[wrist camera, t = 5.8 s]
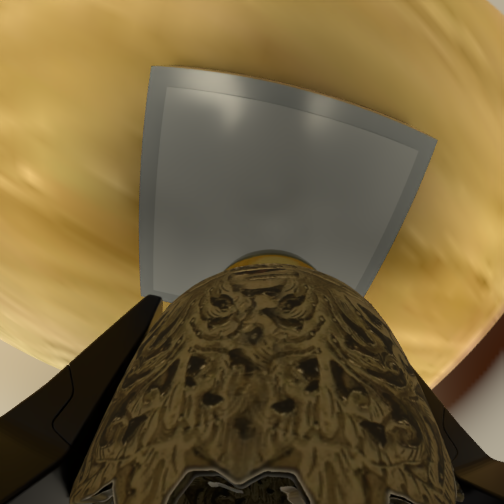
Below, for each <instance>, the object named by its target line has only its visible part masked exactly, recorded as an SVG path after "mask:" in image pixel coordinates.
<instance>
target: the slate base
mask: <svg viewBox="0 0 504 504" xmlns="http://www.w3.org/2000/svg"><path fill="white" fill-rule="evenodd" d="M437 141H438V140H437V139H435V138H433V137H431V136H429V135H428V134H426V133H424V132H422V131H420V130H418V129H417V128H415V127H413V126H411V125H409V124H406V123H404V122H402V121H399V120H397V119H395V118H392V117H390V116H387V115H385V114H382V113H380V112H377V111H374V110H372V109H369V108H366V107H363V106H361V105H358V104H355V103H352V102H349V101H346V100H343V99H340V98H337V97H334V96H330V95H327V94H324V93H320V92H317V91H313V90H310V89H306V88H302V87H299V86H295V85H291V84H287V83H283V82H278V81H274V80H269V79H265V78H260V77H255V76H250V75H244V74H239V73H233V72H227V71H220V70H213V69H205V68H197V67H188V66H178V65H161V66H151V73H150V79H149V86H148V94H147V102H146V110H145V120H144V130H143V141H142V155H141V171H140V195H139V263H140V287H141V296H143V297H146V296H147V295H149V294H152V295H156V296H160V297H162V300H163V301H165V302H170V303H172V302H173V301H174V300H175V299H177V298H178V297H179V296H180V295H182V294H183V293H184V292H185V291H187V290H188V289H189V288H191V287H192V286H194V285H195V284H197V283H199V282H200V281H202V280H204V279H206V278H208V277H211V276H213V275H216V274H218V273H220V272H223V271H224V270H225V269H226V268H227V267H228V266H229V265H230V264H231V263H232V262H233V261H235V260H236V259H238V258H239V257H241V256H243V255H245V254H248V253H251V252H254V251H258V250H266V249H275V250H283V251H287V252H291V253H293V254H296V255H298V256H300V257H302V258H303V259H305V260H306V261H308V262H309V263H310V264H311V265H312V266H313V267H314V268H315V269H316V270H317V271H319V272H322V273H325V274H327V275H330V276H332V277H334V278H336V279H338V280H340V281H342V282H344V283H345V284H347V285H348V286H350V287H351V288H353V289H354V290H355V291H356V292H358V293H359V294H360V295H361V296H363V297H364V296H365V294H366V292H367V291H368V289H369V287H370V285H371V283H372V282H373V280H374V278H375V276H376V274H377V273H378V271H379V269H380V267H381V265H382V263H383V261H384V260H385V258H386V256H387V254H388V252H389V250H390V248H391V246H392V244H393V242H394V240H395V238H396V236H397V234H398V232H399V230H400V228H401V226H402V224H403V222H404V219H405V217H406V215H407V213H408V211H409V209H410V207H411V204H412V202H413V200H414V198H415V195H416V193H417V191H418V188H419V186H420V184H421V181H422V179H423V177H424V174H425V172H426V169H427V167H428V164H429V162H430V159H431V157H432V154H433V151H434V149H435V146H436V143H437Z"/></svg>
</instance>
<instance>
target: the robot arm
mask: <svg viewBox="0 0 504 504" xmlns="http://www.w3.org/2000/svg"><path fill="white" fill-rule="evenodd" d="M162 313H163V300H162V297H160V296H156V295H152V294H149V295H147V296H146V297H145V298H143V299H142V300H141V301H140V302H139V303H138V304H136V305H135V306H134V307H133V308H132V309H131V310H129V311H128V312H127V313H126V314H125V315H124V316H122V317H121V318H120V319H119V320H118V321H117V322H115V323H114V324H113V325H112V326H111V327H110V328H109V329H107V330H106V331H105V332H104V333H103V334H102V335H101V336H99V337H98V338H97V339H96V340H95V341H94V342H93V343H92V344H90V345H89V346H88V347H87V348H86V349H85V350H84V351H83V352H81V353H80V354H79V355H78V356H77V357H76V358H75V359H74V360H73V361H71V362H70V363H69V365H70V366H69V365H67V366H66V367H65V368H64V369H62V370H61V371H60V372H59V373H58V374H57V375H56V376H55V377H53V378H52V379H51V380H50V381H49V382H48V383H46V384H45V385H44V386H42V387H41V388H40V389H39V390H37V391H36V392H35V393H33V394H32V395H31V396H29V397H28V398H26V399H25V400H24V401H22V402H21V403H19V404H18V405H17V406H15V407H14V408H13V409H11V410H10V411H9V412H7V413H6V414H4V415H3V416H1V417H0V504H69V499H70V494H71V490H72V487H73V483H74V481H75V479H76V477H77V475H78V473H79V471H80V469H81V467H82V464H83V462H84V460H85V457H86V455H87V453H88V450H89V448H90V446H91V443H92V441H93V439H94V436H95V434H96V432H97V430H98V428H99V425H100V423H101V421H102V419H103V417H104V415H105V413H106V410H107V408H108V406H109V404H110V402H111V400H112V398H113V396H114V394H115V392H116V390H117V388H118V386H119V384H120V382H121V380H122V378H123V376H124V374H125V372H126V370H127V368H128V366H129V364H130V363H131V361H132V359H133V357H134V355H135V354H136V352H137V350H138V348H139V347H140V345H141V343H142V342H143V340H144V339H145V337H146V335H147V334H148V332H149V331H150V329H151V328H152V326H153V325H154V324H155V322H156V321H157V320H158V318H159V317H160V316H161V315H162ZM411 367H412V366H411ZM412 369H413V371H414V374H415V376H416V378H417V380H418V382H419V384H420V386H421V388H422V391H423V393H424V395H425V397H426V400H427V402H428V404H429V407H430V409H431V411H432V414H433V416H434V418H435V421H436V423H437V426H438V428H439V431H440V433H441V436H442V438H443V441H444V444H445V446H446V449H447V452H448V455H449V457H450V460H451V463H452V466H453V468H454V471H455V474H456V477H457V480H458V482H459V484H460V486H461V488H462V490H463V493H464V500H463V502H458V501H456V504H504V462H500V461H497V460H494V459H492V458H490V457H489V456H488V455H487V454H486V453H485V452H484V451H483V450H482V449H481V448H480V447H479V446H478V445H477V444H476V442H474V440H473V439H472V438H471V437H470V436H469V435H468V434H467V433H466V431H465V430H464V429H463V428H462V427H461V426H460V425H459V424H458V422H457V421H456V420H455V419H454V417H453V416H452V415H451V414H450V413H449V411H448V410H447V409H446V408H445V407H444V405H443V404H442V403H441V401H440V400H439V399H438V398H437V396H436V395H435V394H434V393H433V391H432V390H431V389H430V388H429V387H428V385H427V384H426V383H425V382H424V380H423V379H422V378H421V377H420V376H419V374H418V373H417V372H416V371H415V370H414V368H413V367H412ZM84 504H92V503H84Z"/></svg>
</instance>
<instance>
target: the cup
mask: <svg viewBox="0 0 504 504" xmlns="http://www.w3.org/2000/svg"><path fill="white" fill-rule="evenodd" d="M463 500H464V493H463V490H462V488H461V486H460V484H459V482H458V480H457V477H456V474H455V471H454V468H453V466H452V463H451V460H450V457H449V455H448V452H447V449H446V446H445V444H444V441H443V438H442V436H441V433H440V431H439V428H438V426H437V423H436V421H435V418H434V416H433V414H432V411H431V409H430V407H429V404H428V402H427V400H426V397H425V395H424V393H423V391H422V388H421V386H420V384H419V382H418V380H417V378H416V376H415V374H414V371H413V369H412V367H411V365H410V363H409V361H408V359H407V357H406V356H405V354H404V352H403V350H402V348H401V346H400V344H399V343H398V341H397V339H396V338H395V336H394V335H393V333H392V331H391V330H390V328H389V327H388V325H387V324H386V322H385V321H384V320H383V318H382V317H381V316H380V315H379V313H378V312H377V311H376V310H375V309H374V307H373V306H372V305H371V304H370V303H369V302H368V301H367V300H366V299H365V298H364V297H363V296H361V295H360V294H359V293H358V292H356V291H355V290H354V289H353V288H351V287H350V286H348V285H347V284H345V283H344V282H342V281H340V280H338V279H336V278H334V277H332V276H330V275H327V274H325V273H322V272H319V271H317V270H316V269H315V268H314V267H313V266H312V265H311V264H310V263H309V262H308V261H306V260H305V259H303V258H302V257H300V256H298V255H296V254H293V253H291V252H287V251H283V250H275V249H266V250H258V251H254V252H251V253H248V254H245V255H243V256H241V257H239V258H238V259H236V260H235V261H233V262H232V263H231V264H230V265H229V266H228V267H227V268H226V269H225V270H224V271H223V272H220V273H218V274H216V275H213V276H211V277H208V278H206V279H204V280H202V281H200V282H199V283H197V284H195V285H194V286H192V287H191V288H189V289H188V290H187V291H185V292H184V293H183V294H182V295H180V296H179V297H178V298H177V299H175V300H174V301H173V302H172V303H171V304H170V305H169V306H168V307H167V309H166V310H165V311H164V312H163V313H162V315H161V316H160V317H159V318H158V320H157V321H156V322H155V324H154V325H153V326H152V328H151V329H150V331H149V332H148V334H147V335H146V337H145V339H144V340H143V342H142V343H141V345H140V347H139V348H138V350H137V352H136V354H135V355H134V357H133V359H132V361H131V363H130V364H129V366H128V368H127V370H126V372H125V374H124V376H123V378H122V380H121V382H120V384H119V386H118V388H117V390H116V392H115V394H114V396H113V398H112V400H111V402H110V404H109V406H108V408H107V410H106V413H105V415H104V417H103V419H102V421H101V423H100V425H99V428H98V430H97V432H96V434H95V436H94V439H93V441H92V443H91V446H90V448H89V450H88V453H87V455H86V457H85V460H84V462H83V464H82V467H81V469H80V471H79V473H78V475H77V477H76V479H75V481H74V483H73V487H72V490H71V494H70V499H69V504H84V503H92V504H456V501H458V502H463Z"/></svg>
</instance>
